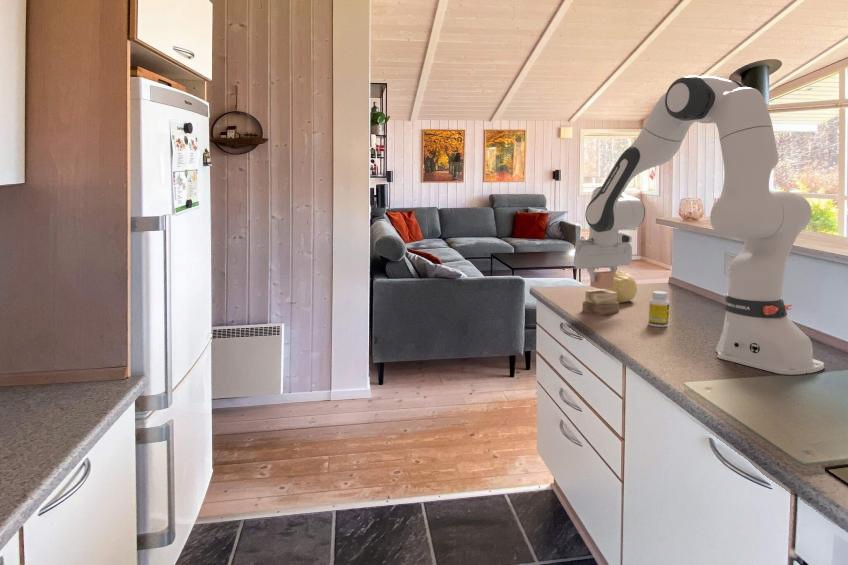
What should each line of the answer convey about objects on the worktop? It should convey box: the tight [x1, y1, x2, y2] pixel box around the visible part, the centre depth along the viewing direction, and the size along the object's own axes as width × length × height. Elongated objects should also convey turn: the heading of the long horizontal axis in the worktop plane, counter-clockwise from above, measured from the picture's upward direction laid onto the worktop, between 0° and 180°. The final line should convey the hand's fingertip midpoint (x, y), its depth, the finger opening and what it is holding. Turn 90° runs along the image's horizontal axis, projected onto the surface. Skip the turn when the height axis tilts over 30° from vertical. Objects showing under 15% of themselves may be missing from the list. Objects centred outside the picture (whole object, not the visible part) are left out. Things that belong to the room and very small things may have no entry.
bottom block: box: [581, 300, 620, 316], centre depth 185 cm, size 8×8×4 cm
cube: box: [589, 269, 614, 289], centre depth 183 cm, size 5×5×5 cm
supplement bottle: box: [647, 290, 670, 328], centre depth 166 cm, size 5×5×10 cm
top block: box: [584, 288, 617, 305], centre depth 184 cm, size 7×7×4 cm
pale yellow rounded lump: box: [605, 270, 638, 304], centre depth 200 cm, size 12×12×11 cm
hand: (602, 280), depth 183 cm, fingers closed on cube, 5 cm apart
